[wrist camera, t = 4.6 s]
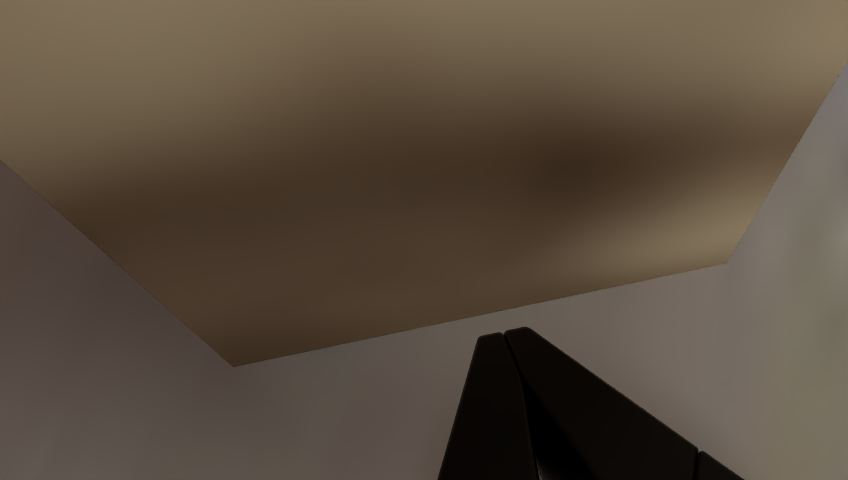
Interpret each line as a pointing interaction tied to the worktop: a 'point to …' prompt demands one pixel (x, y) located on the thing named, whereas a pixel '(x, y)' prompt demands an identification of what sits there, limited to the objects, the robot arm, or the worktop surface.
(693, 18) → the lid
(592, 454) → the robot arm
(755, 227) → the worktop surface
